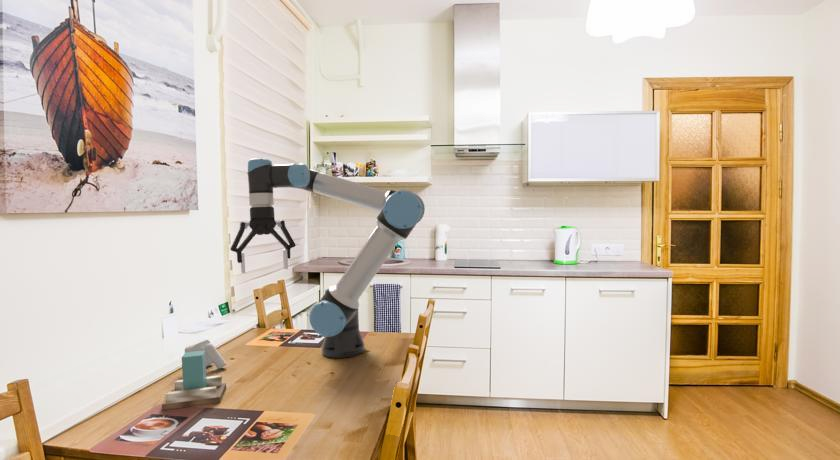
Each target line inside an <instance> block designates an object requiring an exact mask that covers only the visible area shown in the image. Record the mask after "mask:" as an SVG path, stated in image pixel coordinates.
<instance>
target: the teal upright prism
mask: <svg viewBox="0 0 840 460" xmlns="http://www.w3.org/2000/svg"><path fill="white" fill-rule="evenodd" d="M181 368H182V369H181V370H182V380H183V390H190V389H198V388H206V387H207V377H208V376H207V367H206V357H205V350H203V351H194V352H185V351H184V354H183V355H182V356H181Z"/></svg>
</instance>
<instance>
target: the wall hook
mask: <svg viewBox="0 0 840 460" xmlns="http://www.w3.org/2000/svg"><path fill="white" fill-rule="evenodd" d="M203 350H205V357H206V368H207V367H209V366H211V365H214V366H215V367H216V369H217V370H220V369H222V368H223V367H225V366H226V365H227V362H226V360H225V359H224V357H223V356H222V355H221V353H220V352H219V351H218V350H217V348H216V347H215V345H214V344H213V343H211V341H210V340H209V339H205V340H200V341H197V342H195V343H192V344H189V345H188V346H186V347H185V348H184V353H185V352H194V351H203Z"/></svg>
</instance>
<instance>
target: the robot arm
mask: <svg viewBox="0 0 840 460" xmlns="http://www.w3.org/2000/svg"><path fill="white" fill-rule="evenodd" d="M247 179H248V195H249V196H248V198H249V206H251V207H250V208H249V219H250V220H249V222H245V221H241V222H239V229H238V232H237V233H236V236H235V238H234V241H233V242H232V245H231V246H230V251H232V252H235V253H236V261H237V263H238V264H240V272H241V274H246V262H245V252H243V250H244V249H245V248H247V246H248V245H249V244H250V242H251V241H252V240H253V238H254V237H255V236H256V235H258V236H262V235H270V234H271V235H272V237H274V239H276V240H277V242H279V243H280V245H282V246H283V247H284V248H283V249H282V255H283V256H282V258H283V269H285V270H288V269H289V262H288V261H289V260H288V259H291V249H293V248H295V247H296V243H295V241H294V239H293V237H292V235H291V233H289V230H288V228H287V227H286V223H285V220H284V219H281V220H277V221H276V219H275V207H274V204H275V202H274V201H275V200H274V189H277V188H280V189H281V188H291V189H293V188H294V189H300V190H304V191H307V192H311V193H315V194H318V195H322V196H325V197H329V198H332V199H335V200H337V201H342V202H345V203H348V204H352V205H355V206H359V207H362V208H365V209H368V210H371V211H376V212H378V213H379V214H378V215H377V217H376V219H375V220H376V227H375V228H374V229H373V231H372V232H371V234H370V235H369V236H368V238H367V240H366V241H365V242H364V244H363V246H361V248H360V250H359V251H358V253H357V254H356V255H355V258H354V259H353V260H352V262H351V263H350V264H349V266H348V267H347V269H346V270H345V272H344V273H343V275H342V276H341V277H340V279H339V281H338V282H337V283H336V284H335V285H331V286H329V287H328V288H326V289H325V290H324V294H323V295H322V297H321V298H320V300H319V301H318V302H317V303H316V304H314V305H313V307H312V308H311V310H310V312H309V319H308V320H309V324H310V325H311V328H312V329H313V331H314V332H316V334H318V335H320V336H322V337H324V339H323V342H322V345H321V354H322V356H324V357H326V358H333V359H344V358H351V357H355V356H358V355H361V354H362V353H364V351H366V350H365V342H364V339H363V336H362V333H361V331H360V325H359V324H360V323H359V322H360V321H359V307H360V304H359V299H360V298H361V296H362V295H363V293H364V292H365V291H366V289H368V286H369V285H370V283H371V282H372V280H373V279H374V278H375V276H376V275H377V273H378V272H379V270H380V269H381V268H382V266H383V264H385V262H386V260H387V259H388V257H389V256H390V255H391V253H392V251H393V250H394V249H395V247H396V246H397V244H399V241H404V240H407V238H408V236H410V234H411V232H412V231H413V230H414V228H415V227H416V225H417V224H419V222H420V221H421V220H422V219H423V217H424V215H425V208H426V207H425V203H424V201H423V199H422V198H421V197H420V196H419V195H417V194H416V193H414V192H413V191H411V190H404V189H403V190H397V191H396V190H392V189H389V190H387V191H386V190H384V189H380V188H376V187H372V186H369V185H365V184H362V183H359V182H355V181H353V180H349V179H345V178H342V177H338V176H333V175H331V174H327V173H325V172H320V171H317V170H313V169H310V168H309V167H308V166H307V164H304V163H296V162H295V163H287V164H284V163H283V164H273V162H272V160H271V159H269V158H251V159H249V160H248V162H247ZM276 226H277V227H278V228H280V231H281V232H282V234H283V235H284V238H285V239H286V240H284V238H283V237H282V236H280V234H279V233H278V232H277V231H276V230H275V228H276ZM248 227H249V228H250V229H251V231H250V232H249V233H248V235H247V236H246V237H245V239H244V240H243V241H242V243H241V244H240V245H239V243H240V241H241V239H242V236H243V235H244V233H245V230H247V229H248ZM286 241H287V242H286Z"/></svg>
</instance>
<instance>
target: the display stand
mask: <svg viewBox="0 0 840 460" xmlns="http://www.w3.org/2000/svg"><path fill="white" fill-rule="evenodd" d="M173 384H174V389H172V390H171V391H169V392H166V393H165V399H164V401H163V403H162V404H161V409H162V411H166V409H167V410H174V409H175V410H176V409H179V408H180V409H182V408H188V407H194V406H195V407H196V406H203V405H210V404H218V403H222V399H223V396H224V395H225V393H226V390H227V383H226V382H225V383H223V376H222V374H220V375H211V376H207V387H206V388H198V389H190V390H183V379H178V380H175V381H174V383H173Z"/></svg>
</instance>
